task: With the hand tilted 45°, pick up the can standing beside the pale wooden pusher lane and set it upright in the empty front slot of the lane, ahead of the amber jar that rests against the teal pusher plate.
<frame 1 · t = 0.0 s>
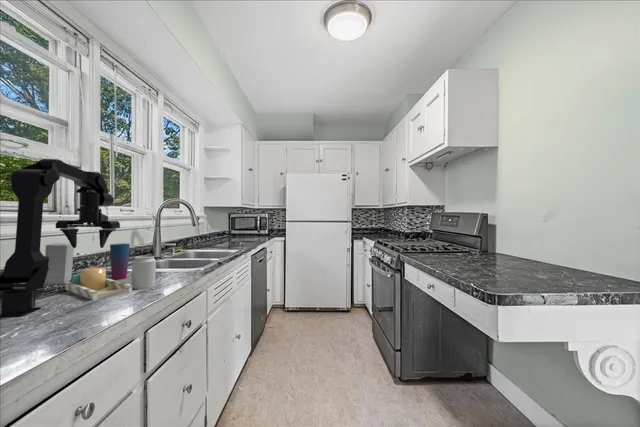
hand: (88, 247, 106), 15 cm above the counter, tool pointing down, fingers open, 9 cm apart
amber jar: (92, 289, 101), point 1 cm above the counter, touching lane
skincare box: (58, 284, 111), on the counter
pusher plate: (87, 280, 103), point 3 cm above the counter, slide at 0.0 cm
cup: (119, 280, 118), on the counter
lane: (98, 293, 98), on the counter
can: (143, 289, 106), on the counter
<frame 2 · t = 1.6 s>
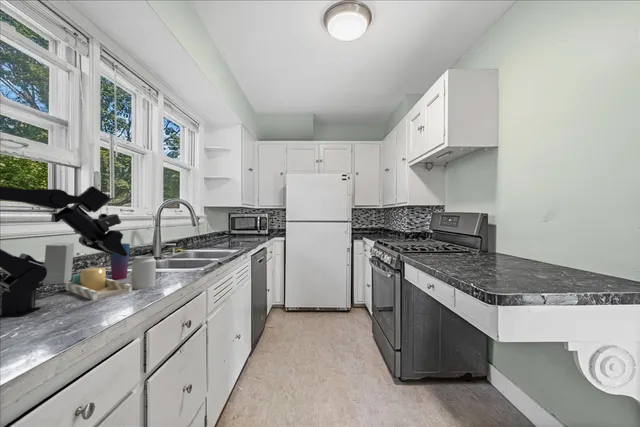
hand: (119, 254, 99), 13 cm above the counter, tool tilted 45°, fingers open, 9 cm apart
nothing on the counter moved.
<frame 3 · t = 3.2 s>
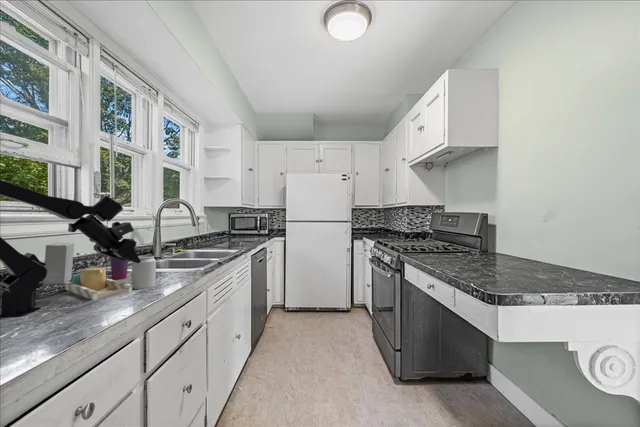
hand: (132, 261, 102), 11 cm above the counter, tool tilted 45°, fingers open, 9 cm apart
nothing on the counter moved.
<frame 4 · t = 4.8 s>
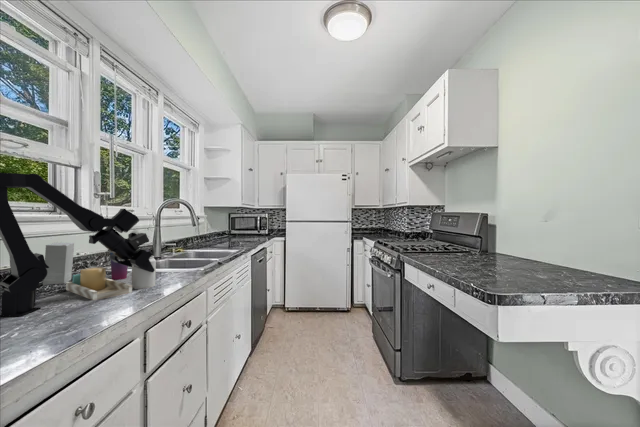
hand: (147, 270, 107), 7 cm above the counter, tool tilted 45°, fingers closed on can, 7 cm apart
can: (143, 289, 106), on the counter, touching gripper
everything else where it was.
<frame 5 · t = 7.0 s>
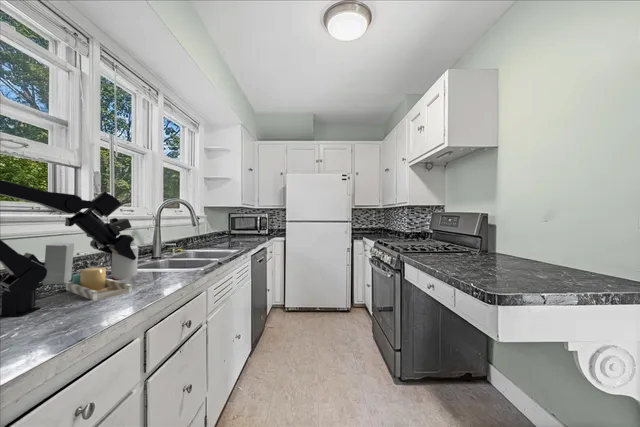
hand: (129, 258, 102), 12 cm above the counter, tool tilted 45°, fingers closed on can, 7 cm apart
can: (124, 277, 100), point 5 cm above the counter, touching gripper
everything else where it was.
when the fingers open (9 cm above the counter, at t = 9.1 s): can drops 1 cm, resting on lane.
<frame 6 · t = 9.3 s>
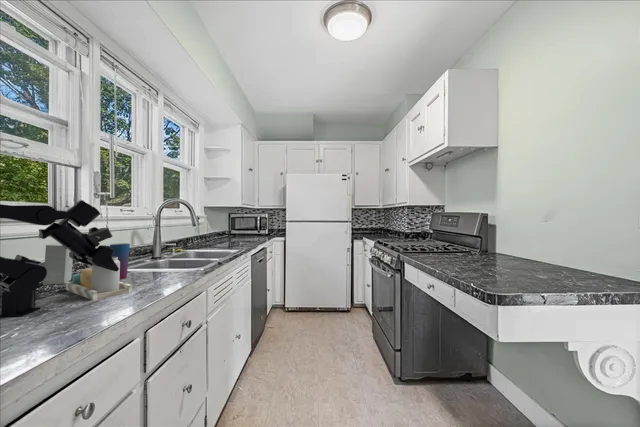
hand: (111, 268, 97), 9 cm above the counter, tool tilted 45°, fingers open, 9 cm apart
can: (105, 294, 95), point 1 cm above the counter, touching lane
everything else where it was.
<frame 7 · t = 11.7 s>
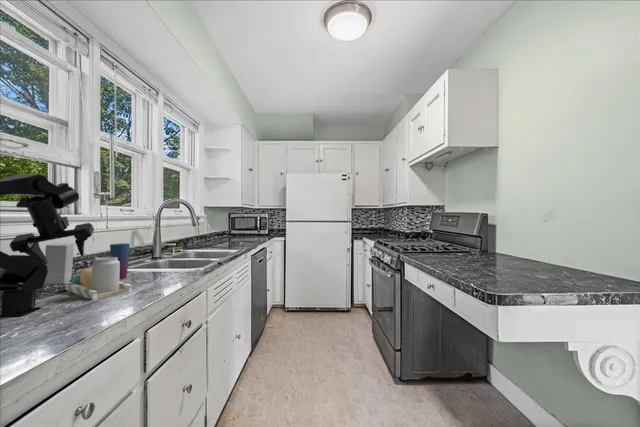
hand: (65, 259, 91), 13 cm above the counter, tool tilted 25°, fingers open, 9 cm apart
nothing on the counter moved.
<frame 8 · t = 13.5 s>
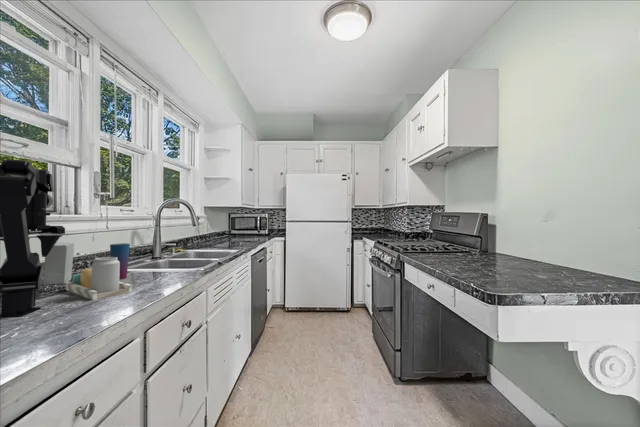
hand: (32, 258, 89), 13 cm above the counter, tool pointing down, fingers open, 9 cm apart
nothing on the counter moved.
at the end: can 0.2 cm from the target spot, point 0.6 cm above the counter; can tilted 0°; the gripper is holding nothing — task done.
